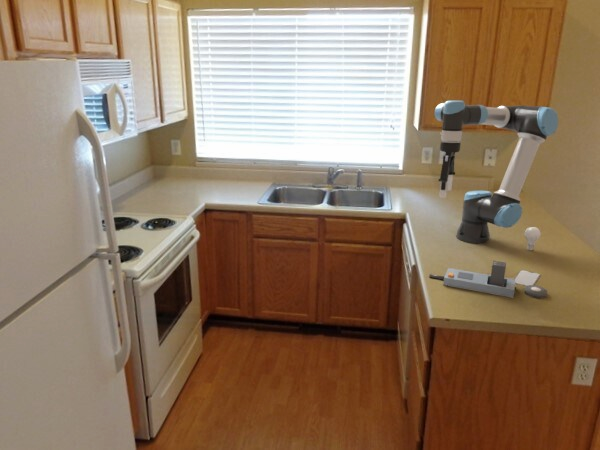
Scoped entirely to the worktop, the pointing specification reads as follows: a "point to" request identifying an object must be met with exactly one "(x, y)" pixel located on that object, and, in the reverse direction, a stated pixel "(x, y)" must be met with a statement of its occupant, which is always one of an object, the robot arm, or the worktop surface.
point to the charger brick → (497, 273)
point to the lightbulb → (532, 237)
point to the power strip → (476, 282)
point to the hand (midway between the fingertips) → (445, 193)
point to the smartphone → (526, 278)
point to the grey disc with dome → (535, 291)
